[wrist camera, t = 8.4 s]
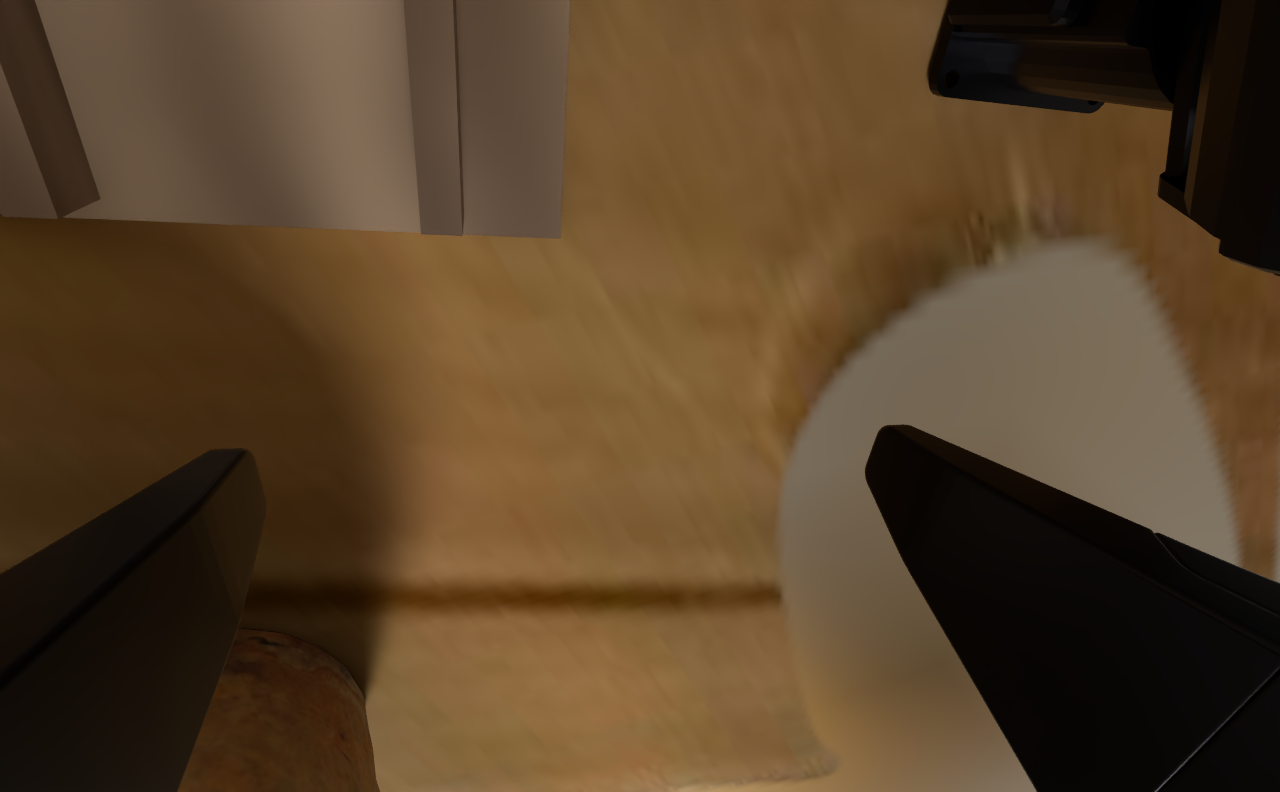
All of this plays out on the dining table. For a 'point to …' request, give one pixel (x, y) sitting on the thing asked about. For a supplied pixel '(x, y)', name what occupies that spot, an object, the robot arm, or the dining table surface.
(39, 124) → the press bed
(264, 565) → the dining table surface
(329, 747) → the potted plant
